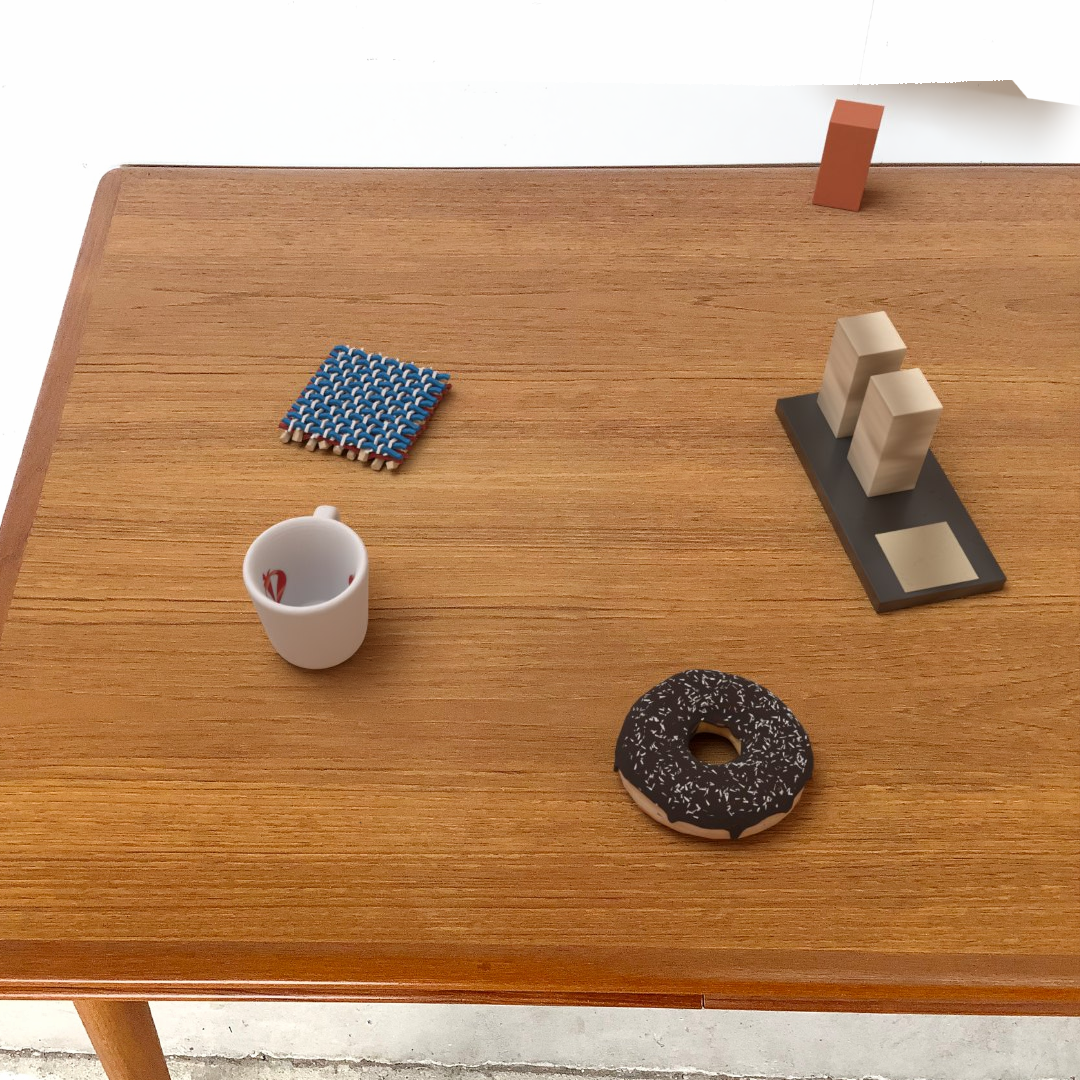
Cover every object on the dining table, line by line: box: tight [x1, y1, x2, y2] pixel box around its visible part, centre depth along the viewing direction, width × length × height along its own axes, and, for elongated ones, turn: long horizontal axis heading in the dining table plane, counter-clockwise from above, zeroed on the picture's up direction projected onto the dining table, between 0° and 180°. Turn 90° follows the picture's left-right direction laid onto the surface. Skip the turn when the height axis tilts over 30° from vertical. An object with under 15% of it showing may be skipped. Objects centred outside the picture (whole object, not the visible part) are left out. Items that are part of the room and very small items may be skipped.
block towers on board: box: [774, 310, 1008, 614], centre depth 90 cm, size 9×20×9 cm, turn 11°
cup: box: [242, 504, 370, 670], centre depth 86 cm, size 11×8×8 cm
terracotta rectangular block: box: [811, 98, 885, 212], centre depth 112 cm, size 4×4×8 cm
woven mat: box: [277, 344, 453, 471], centre depth 100 cm, size 10×11×2 cm
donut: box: [612, 668, 815, 842], centre depth 80 cm, size 11×12×4 cm
